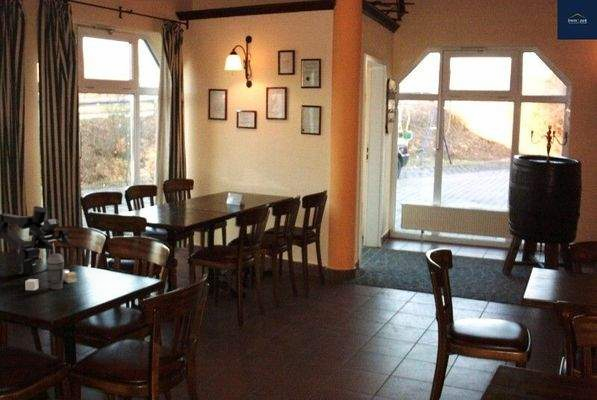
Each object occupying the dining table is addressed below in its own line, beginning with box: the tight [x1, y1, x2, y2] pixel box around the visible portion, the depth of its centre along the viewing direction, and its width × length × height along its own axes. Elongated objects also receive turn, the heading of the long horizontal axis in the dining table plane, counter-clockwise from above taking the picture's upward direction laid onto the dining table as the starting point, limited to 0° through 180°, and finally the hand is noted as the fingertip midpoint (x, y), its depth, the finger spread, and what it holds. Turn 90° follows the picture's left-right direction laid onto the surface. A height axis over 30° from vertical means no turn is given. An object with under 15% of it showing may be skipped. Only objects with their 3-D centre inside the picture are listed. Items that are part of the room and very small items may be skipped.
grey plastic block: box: [24, 278, 40, 291], centre depth 283 cm, size 4×4×4 cm
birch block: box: [64, 271, 78, 284], centre depth 296 cm, size 4×4×4 cm
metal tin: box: [63, 268, 70, 282], centre depth 299 cm, size 6×6×4 cm
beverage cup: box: [46, 242, 65, 290], centre depth 284 cm, size 7×7×20 cm
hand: (62, 246), depth 294 cm, fingers open, 9 cm apart
